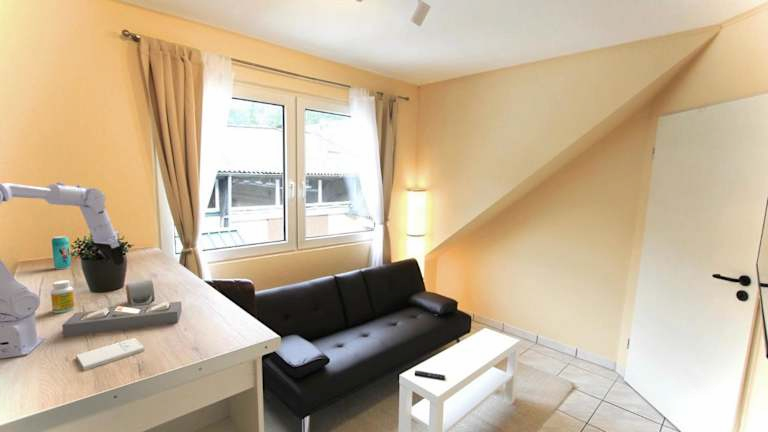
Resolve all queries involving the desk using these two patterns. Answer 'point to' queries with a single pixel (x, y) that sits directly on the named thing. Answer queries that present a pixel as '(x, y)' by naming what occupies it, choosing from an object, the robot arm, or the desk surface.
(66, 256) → the beverage can
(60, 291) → the supplement bottle
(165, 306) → the rocker
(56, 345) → the desk surface
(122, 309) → the rocker
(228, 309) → the desk surface
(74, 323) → the rocker switch panel
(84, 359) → the external hard drive
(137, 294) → the ceramic mug
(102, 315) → the rocker
